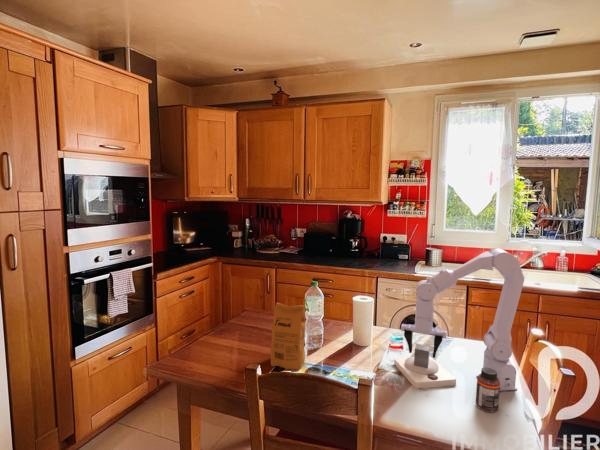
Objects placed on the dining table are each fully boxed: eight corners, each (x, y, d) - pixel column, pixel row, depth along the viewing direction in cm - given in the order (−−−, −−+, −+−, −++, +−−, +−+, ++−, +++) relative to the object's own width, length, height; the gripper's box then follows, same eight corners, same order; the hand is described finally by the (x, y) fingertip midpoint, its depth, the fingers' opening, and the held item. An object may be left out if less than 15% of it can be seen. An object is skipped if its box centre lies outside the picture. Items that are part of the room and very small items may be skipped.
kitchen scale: (455, 385, 116) (456, 376, 115) (415, 388, 113) (416, 380, 113) (429, 361, 131) (430, 354, 131) (394, 363, 129) (394, 356, 129)
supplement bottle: (478, 398, 108) (480, 363, 107) (500, 406, 105) (503, 369, 104) (472, 407, 104) (475, 370, 103) (495, 416, 100) (498, 377, 99)
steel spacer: (428, 362, 125) (429, 346, 124) (427, 368, 121) (428, 351, 120) (415, 359, 127) (416, 343, 126) (413, 365, 123) (414, 348, 122)
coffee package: (276, 354, 135) (277, 297, 133) (308, 359, 131) (309, 301, 129) (266, 366, 126) (266, 306, 123) (299, 373, 122) (300, 310, 120)
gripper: (447, 315, 122) (445, 353, 124) (403, 309, 128) (402, 345, 130) (446, 322, 116) (444, 362, 117) (400, 315, 122) (399, 353, 123)
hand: (422, 354), depth 123 cm, fingers open, 7 cm apart
